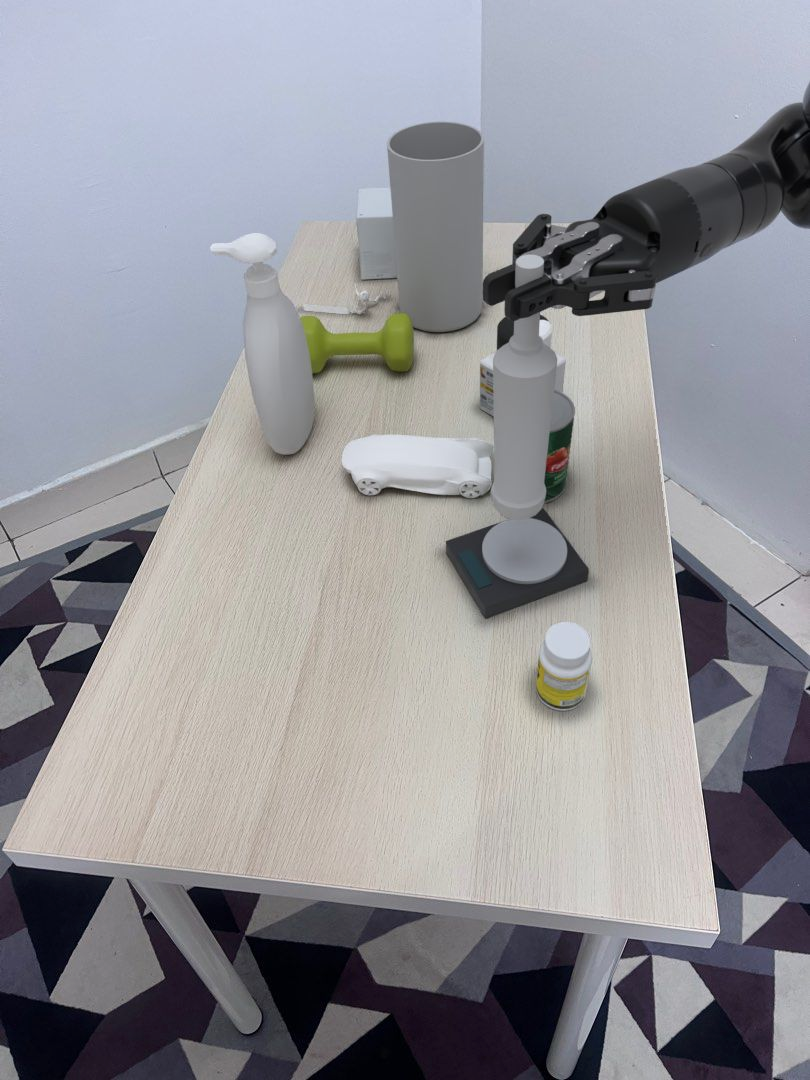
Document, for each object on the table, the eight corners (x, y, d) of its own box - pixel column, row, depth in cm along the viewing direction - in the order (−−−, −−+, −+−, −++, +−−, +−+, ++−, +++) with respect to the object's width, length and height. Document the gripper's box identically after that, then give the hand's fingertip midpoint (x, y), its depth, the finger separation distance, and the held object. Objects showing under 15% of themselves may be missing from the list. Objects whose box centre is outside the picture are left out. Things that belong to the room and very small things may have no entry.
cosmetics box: (401, 278, 128) (396, 215, 121) (361, 281, 129) (354, 218, 121) (400, 246, 135) (396, 184, 128) (362, 249, 136) (356, 187, 128)
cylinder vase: (421, 283, 127) (412, 117, 108) (494, 298, 123) (498, 127, 104) (386, 325, 120) (370, 153, 101) (462, 341, 115) (460, 166, 97)
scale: (542, 519, 91) (543, 503, 89) (587, 581, 84) (590, 565, 82) (445, 552, 88) (445, 537, 86) (485, 619, 82) (485, 603, 80)
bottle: (482, 511, 76) (482, 271, 58) (504, 477, 79) (511, 239, 61) (532, 528, 74) (549, 286, 56) (553, 492, 77) (576, 251, 59)
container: (478, 409, 105) (478, 323, 95) (518, 382, 108) (522, 297, 98) (522, 435, 101) (527, 348, 91) (562, 407, 104) (571, 320, 94)
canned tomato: (568, 505, 92) (578, 431, 84) (500, 504, 93) (502, 432, 85) (564, 458, 97) (572, 385, 89) (499, 459, 98) (501, 386, 90)
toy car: (492, 454, 99) (493, 426, 95) (491, 499, 93) (491, 471, 90) (350, 452, 101) (345, 424, 97) (340, 495, 95) (335, 467, 92)
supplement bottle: (547, 661, 78) (554, 609, 72) (593, 681, 76) (604, 630, 70) (526, 699, 75) (531, 648, 69) (573, 720, 74) (582, 670, 67)
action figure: (313, 300, 127) (297, 316, 122) (313, 266, 124) (297, 282, 118) (385, 311, 126) (372, 328, 120) (387, 278, 122) (374, 294, 117)
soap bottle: (272, 396, 109) (228, 204, 90) (330, 398, 108) (297, 204, 88) (244, 468, 100) (186, 270, 80) (306, 471, 99) (264, 271, 79)
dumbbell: (416, 348, 115) (413, 303, 110) (413, 381, 110) (410, 336, 104) (304, 350, 116) (296, 306, 111) (296, 383, 111) (287, 339, 106)
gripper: (614, 151, 66) (441, 217, 60) (747, 210, 57) (562, 293, 52) (603, 238, 71) (444, 306, 66) (724, 303, 63) (554, 386, 57)
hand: (497, 300), depth 59 cm, fingers closed on bottle, 2 cm apart
